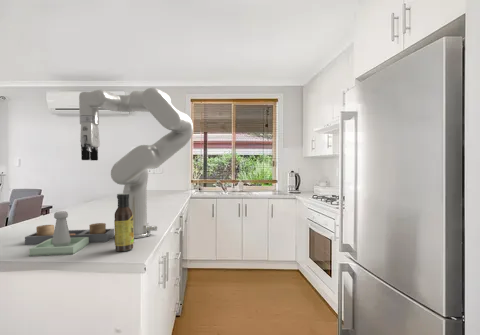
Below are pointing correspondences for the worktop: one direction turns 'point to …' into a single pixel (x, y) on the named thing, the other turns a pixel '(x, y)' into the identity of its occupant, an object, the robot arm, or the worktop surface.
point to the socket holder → (72, 236)
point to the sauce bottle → (123, 224)
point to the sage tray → (49, 248)
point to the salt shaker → (61, 230)
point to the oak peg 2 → (97, 228)
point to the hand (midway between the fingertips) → (90, 160)
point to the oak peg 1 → (45, 230)
